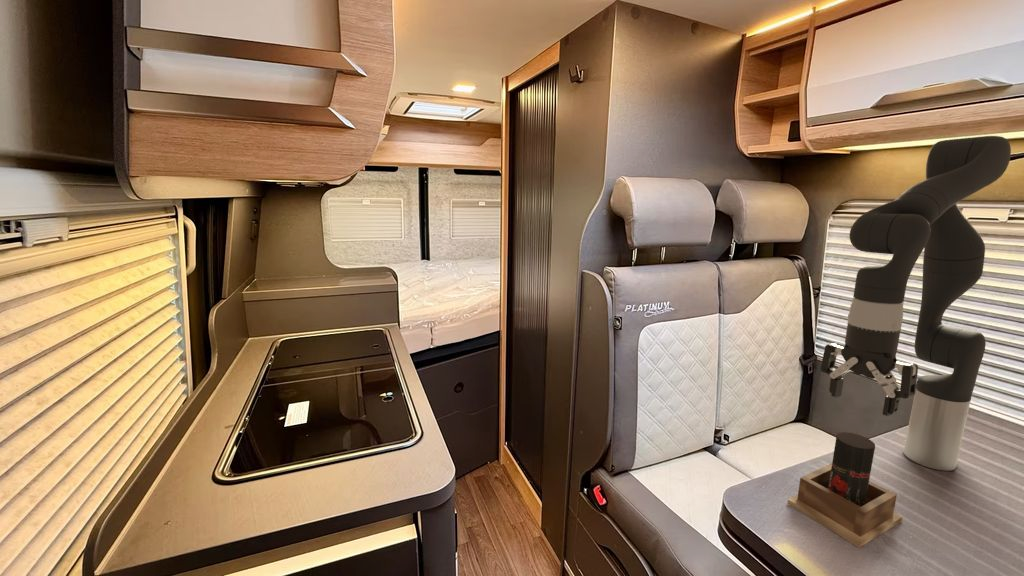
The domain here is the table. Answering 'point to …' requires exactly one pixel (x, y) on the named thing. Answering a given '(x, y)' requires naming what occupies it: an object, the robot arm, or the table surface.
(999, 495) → the table surface
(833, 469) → the deodorant
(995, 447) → the table surface
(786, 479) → the table surface
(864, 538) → the holder
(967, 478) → the table surface
